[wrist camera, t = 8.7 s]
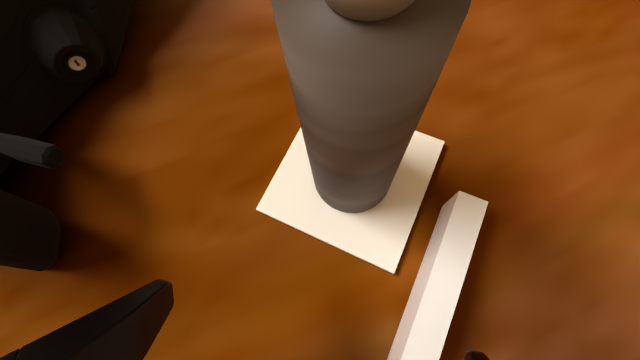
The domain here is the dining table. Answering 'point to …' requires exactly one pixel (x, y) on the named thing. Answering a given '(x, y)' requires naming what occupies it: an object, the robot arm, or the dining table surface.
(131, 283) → the dining table surface
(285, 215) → the coaster
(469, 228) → the low frosted rail
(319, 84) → the pepper mill
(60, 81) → the black looped hood device
